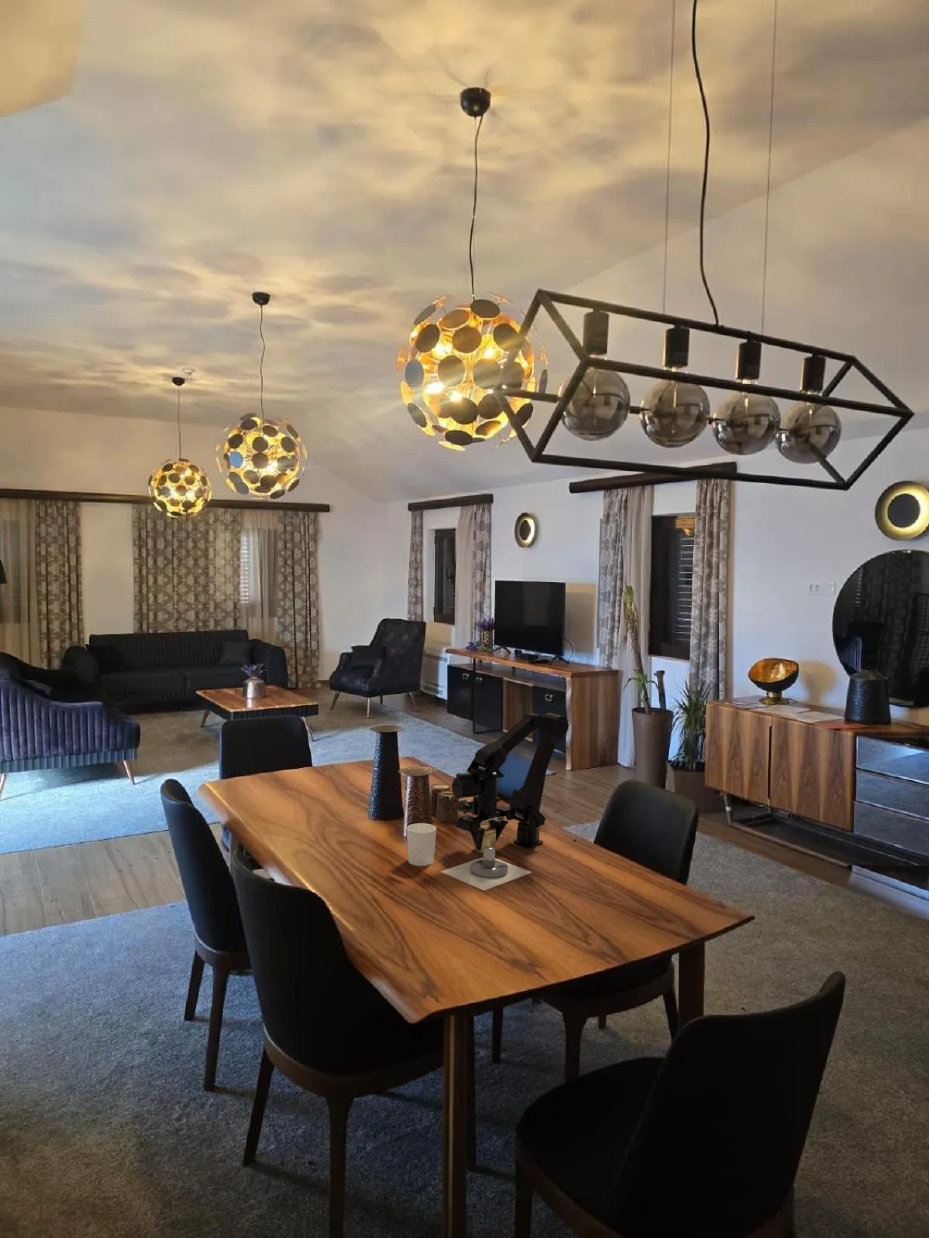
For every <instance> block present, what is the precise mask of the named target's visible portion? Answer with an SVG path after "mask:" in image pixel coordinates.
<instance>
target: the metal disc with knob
mask: <svg viewBox="0 0 929 1238" xmlns="http://www.w3.org/2000/svg"><path fill="white" fill-rule="evenodd" d="M483 857H484V860H478V861H475V862H473V863H471V865H470V872H471V873H472V874H473V875H475V876H477V877H481V878H500V877H503V876H505V875H507V873H508V866H507V865H506V864H505V863H503V862H500V861H497V860H495V858H496V849H495V847H493V846H485V847H484V853H483Z"/></svg>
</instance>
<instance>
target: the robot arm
mask: <svg viewBox="0 0 929 1238" xmlns="http://www.w3.org/2000/svg"><path fill="white" fill-rule="evenodd" d="M569 726H570V723H569V721H568V719H567V718H566V717H565V716H563V715H558V714H554V713H551V712H547V713H545V714H543V715H542V714H538V713H537V714H536V713H532V712H526V713H525V714H524V715H523V716H522V718H521V719H520V720H519V721H518V722H516V724H514V725H513V726H512V727H511V728H510V729H509V730H507V731H506V732H505V733H503V734H502V736H501V737H499V738H498V739H497V740H495V741H493V742H491V743H488V744H486V745H484V746H483V747H481V748H479V749H478V750H477V751H476V752H475V754H474V758H473V759H472V760H471V763H470V764H469V766H468V767H467V769H466V772H465V773H464V772H463V773H462V772H459V773H456V775H455V778H454V779H453V781H452V783H451V791H452V794H453V797H455V799H457V800H458V801H457V802H458V803H457V809H458V811H459V812H460V813H462V814H463V816H459V817H458V818H457V819H456V822H455V823H456V825H455V827H456V828H458V829H461V830H464V831H466V832H469V833H470V835H471V837H472V840H473V844H474V846H475V850H476V849H477V850H478V851H479V850H480V849H481V845H482V841H483V836H484V832H485V829H484V828H482V824H483V823H486V822H488V823H489V826H493V827H495V828H496V843H497V842H498V840H499V838H500V836H501V834H502V832H503V831H504V829H505V827H506V826H507V825H508V824H509V821H512V820H513V821H514V820H515V821H518V822H517V829H516V839H513V843H515V844H518V845H520V846H523V847H526V848H533V847H537V846H539V845H541V844H544V840H541V839H540V828H541V826H544V825H545V822H546V817H545V816H544V815H543V813H541V812H540V805H541V799H540V789H541V787H542V784H543V781H544V778H545V776H546V774H547V770H548V768H549V765H550V762H551V760H552V757H553V754H554V751H555V748H556V746H557V745H558V744H559V743H561V742H562V741H563V740H564V738H565V736H566V734H567V732H568V730H569ZM537 729H538V736H539V741H538V744H537V747H536V750H535V753H534V755H533V758H532V760H531V763H530V766H529V769H528V772H527V774H526V777H525V780H524V782H523V785H522V786H521V787H520V789H518V790H517V789H514V790H513V792H512V794H511V795H512V796H511V798H510V799H509V800H508V802H509V807H508V806H506V805H498V803H499V802H501V798H500V797H498V779H500V778H501V779H502V778H504V777H505V775H504V773H503V772H501V770H500V769H501V767H502V766H503V765H504V764H505V762H506V761H507V758H508V755H509V754H510V753H511V752H512V751H513V750H514V749H515V748H516V747H517V746H519V744H521V743H522V742H523V741H524V740H525V739H526V738H527V737H528V736H530V735H531V734H532V733H533V732H534V731H536V730H537ZM472 797H473V798H472ZM466 798H467V799H466ZM468 798H472V800H469V801H468ZM460 799H461V800H460ZM468 813H471V815H469V814H468ZM474 816H476V817H474ZM478 851H477V852H478Z"/></svg>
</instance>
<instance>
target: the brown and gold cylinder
mask: <svg viewBox="0 0 929 1238" xmlns="http://www.w3.org/2000/svg"><path fill="white" fill-rule="evenodd" d="M482 828H484V829H485V832H484V836H483V841H482V845H481V849H480V850H479V851H478V850H477V849H476V848H475V851H476V852H479V853H481V854H484V847H485V846H493V847H495V850H496V846H497V845H496V843H497V842H496V828H495V827H493V826H490V824H489V825H487V824H483V825H482Z"/></svg>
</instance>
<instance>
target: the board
mask: <svg viewBox="0 0 929 1238" xmlns="http://www.w3.org/2000/svg"><path fill="white" fill-rule="evenodd" d="M478 860H484V856H483V857H480V858H477V859H474V860H471V861H468V862H465V863H462V864H459V865H457V866H453V867H450V868H447V869H444V870H441V871H440V873H442V874H445V875H447V876H450V877H452V878H454V879H455V880H456V879H457V880H458V881H461V882H464V883H466V884H468V885H470V886H472V887H475V888H477V889H478V890H482V891H487V890H490V889H492V888H495V887H497V886H500V885H502V884H505V883H507V882H510V881H514V880H516V879H518V878H521V877H524V876H526V875H529V874H532V871H530V870H527V869H524V868H522V867H520V866H519V867H518V866H516V865H515V864H511V863H509V862H506V861H503V860H501V859H498V858H496V857H495V860H497V861H500V862H503V863H505V864H506V865H507V866H508V873H507V875H505V876H503V877H500V878H481V877H477V876H475V875H473V874H472V873H471V872H470V865H471V863H473V862H475V861H478Z"/></svg>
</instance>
